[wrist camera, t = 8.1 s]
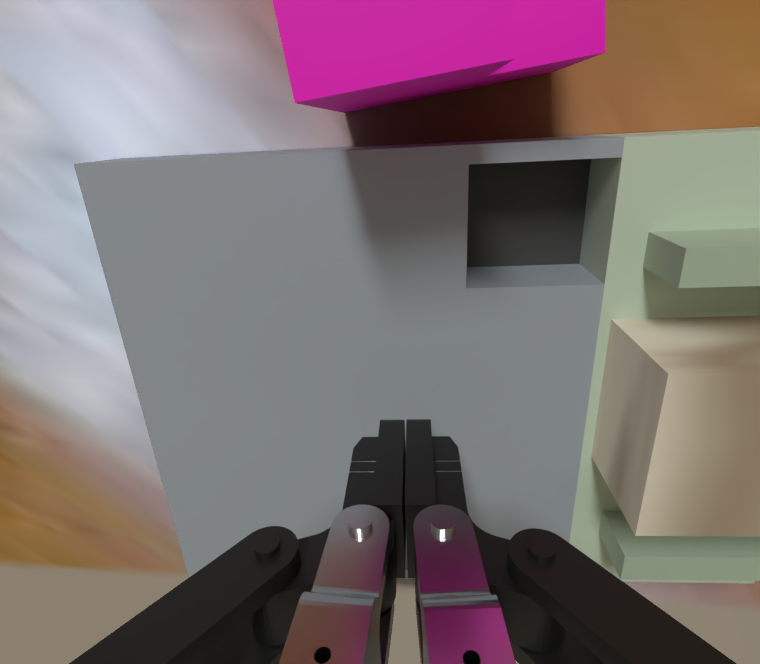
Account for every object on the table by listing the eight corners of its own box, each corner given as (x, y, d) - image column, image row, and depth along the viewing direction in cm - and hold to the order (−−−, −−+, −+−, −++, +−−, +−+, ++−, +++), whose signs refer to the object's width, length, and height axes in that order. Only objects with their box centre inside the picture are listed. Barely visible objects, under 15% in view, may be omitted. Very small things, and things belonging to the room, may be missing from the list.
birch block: (787, 314, 14) (897, 369, 11) (745, 455, 16) (828, 537, 13) (611, 318, 15) (668, 374, 11) (591, 455, 17) (634, 535, 13)
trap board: (833, 123, 14) (1004, 121, 10) (715, 532, 21) (791, 634, 17) (122, 158, 16) (21, 170, 12) (211, 529, 22) (166, 622, 18)
